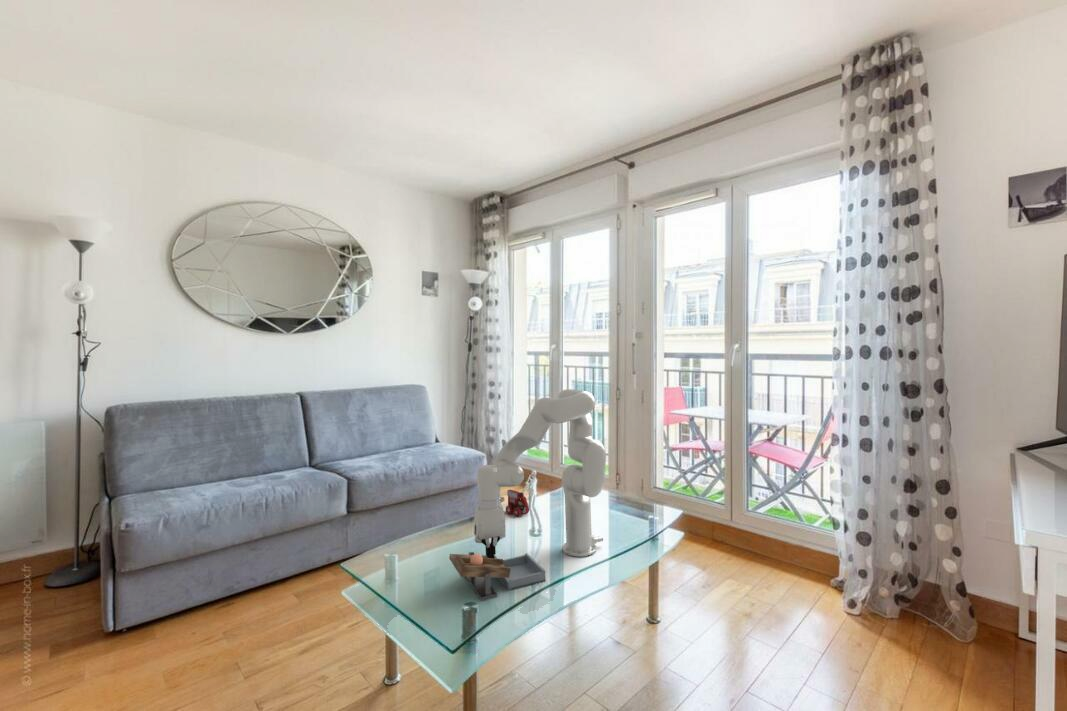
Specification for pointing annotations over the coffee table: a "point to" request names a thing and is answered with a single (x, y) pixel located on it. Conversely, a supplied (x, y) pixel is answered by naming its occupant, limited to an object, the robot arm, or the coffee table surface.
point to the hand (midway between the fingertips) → (490, 557)
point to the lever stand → (482, 585)
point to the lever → (488, 565)
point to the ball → (476, 560)
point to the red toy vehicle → (516, 503)
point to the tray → (522, 572)
